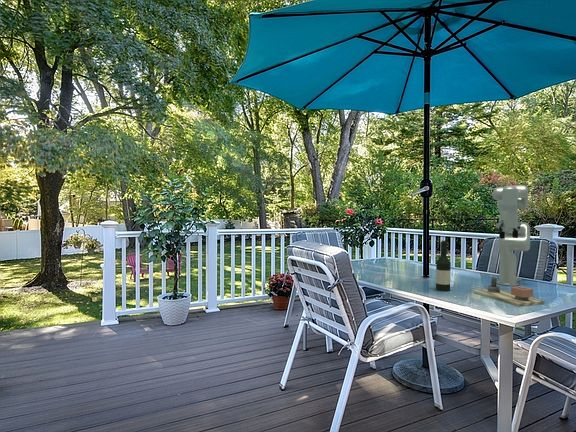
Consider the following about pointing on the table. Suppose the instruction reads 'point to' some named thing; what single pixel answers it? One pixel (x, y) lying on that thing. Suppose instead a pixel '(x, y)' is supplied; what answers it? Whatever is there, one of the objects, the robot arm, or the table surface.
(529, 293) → the collar
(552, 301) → the table surface
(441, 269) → the wine bottle
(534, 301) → the board
